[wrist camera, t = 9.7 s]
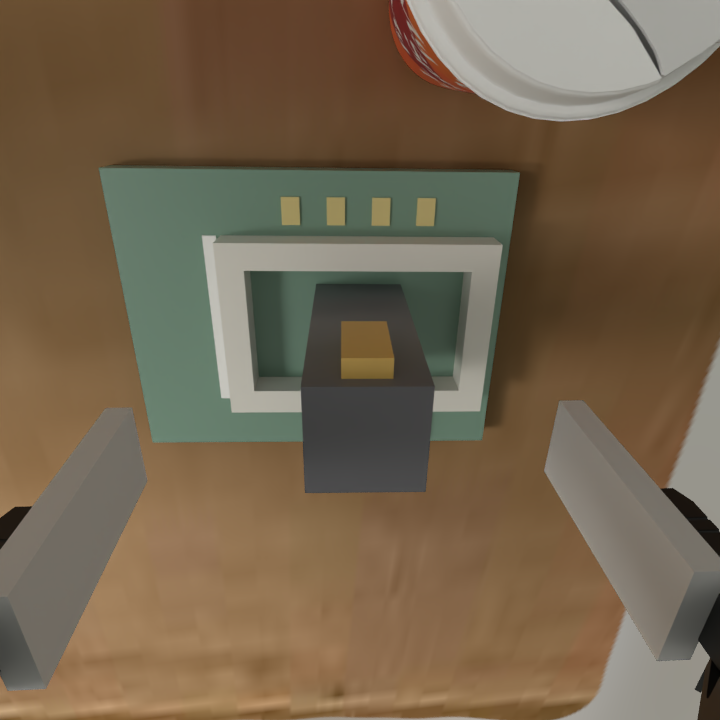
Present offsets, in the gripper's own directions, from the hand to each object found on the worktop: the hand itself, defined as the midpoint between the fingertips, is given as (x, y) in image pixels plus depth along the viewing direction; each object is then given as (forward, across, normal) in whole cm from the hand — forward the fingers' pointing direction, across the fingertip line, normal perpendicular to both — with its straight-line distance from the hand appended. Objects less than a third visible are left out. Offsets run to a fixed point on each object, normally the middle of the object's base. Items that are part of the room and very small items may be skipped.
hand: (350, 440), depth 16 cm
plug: (+10, +1, 0) cm, 10 cm away
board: (+11, -1, 0) cm, 11 cm away
